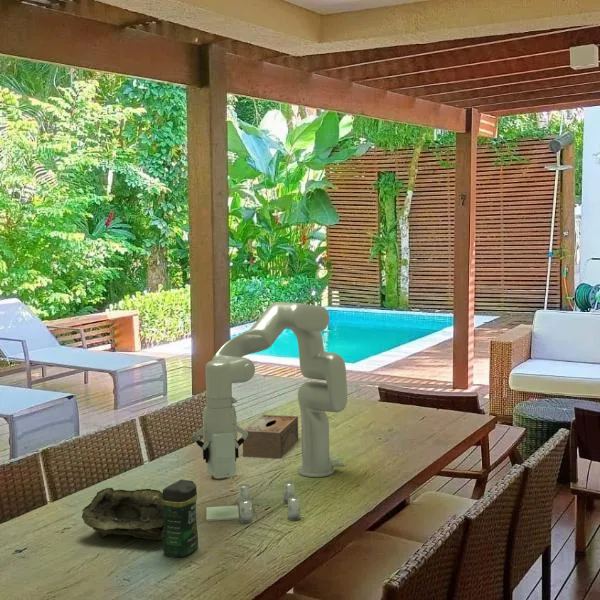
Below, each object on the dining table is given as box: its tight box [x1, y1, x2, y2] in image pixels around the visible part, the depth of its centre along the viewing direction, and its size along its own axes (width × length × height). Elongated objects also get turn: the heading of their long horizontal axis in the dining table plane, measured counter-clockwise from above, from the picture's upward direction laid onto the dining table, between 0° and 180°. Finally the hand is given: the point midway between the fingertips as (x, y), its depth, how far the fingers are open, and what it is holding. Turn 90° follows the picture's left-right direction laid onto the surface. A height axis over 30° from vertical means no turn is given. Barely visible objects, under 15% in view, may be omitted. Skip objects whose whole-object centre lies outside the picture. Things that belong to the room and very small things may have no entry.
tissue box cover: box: [242, 414, 299, 460], centre depth 314 cm, size 26×14×10 cm, turn 165°
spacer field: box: [237, 481, 301, 524], centre depth 246 cm, size 18×18×6 cm
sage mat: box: [205, 505, 240, 522], centre depth 244 cm, size 10×10×1 cm
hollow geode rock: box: [81, 487, 164, 541], centre depth 229 cm, size 28×13×15 cm
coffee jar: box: [162, 479, 199, 558], centre depth 217 cm, size 10×8×19 cm
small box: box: [206, 432, 237, 480], centre depth 243 cm, size 8×6×13 cm
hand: (220, 460), depth 243 cm, fingers closed on small box, 7 cm apart
